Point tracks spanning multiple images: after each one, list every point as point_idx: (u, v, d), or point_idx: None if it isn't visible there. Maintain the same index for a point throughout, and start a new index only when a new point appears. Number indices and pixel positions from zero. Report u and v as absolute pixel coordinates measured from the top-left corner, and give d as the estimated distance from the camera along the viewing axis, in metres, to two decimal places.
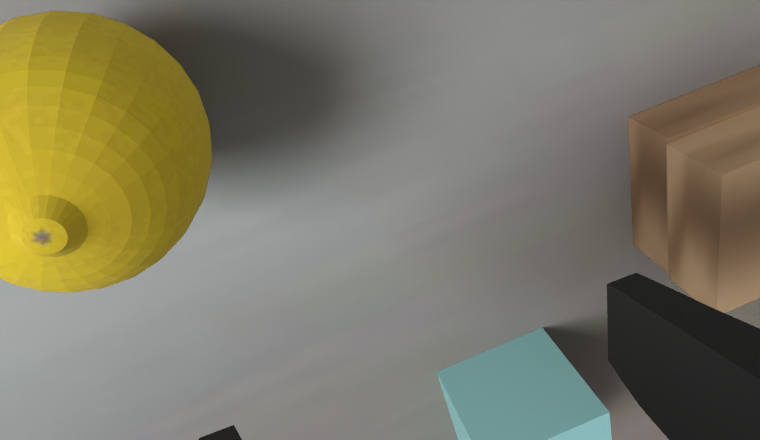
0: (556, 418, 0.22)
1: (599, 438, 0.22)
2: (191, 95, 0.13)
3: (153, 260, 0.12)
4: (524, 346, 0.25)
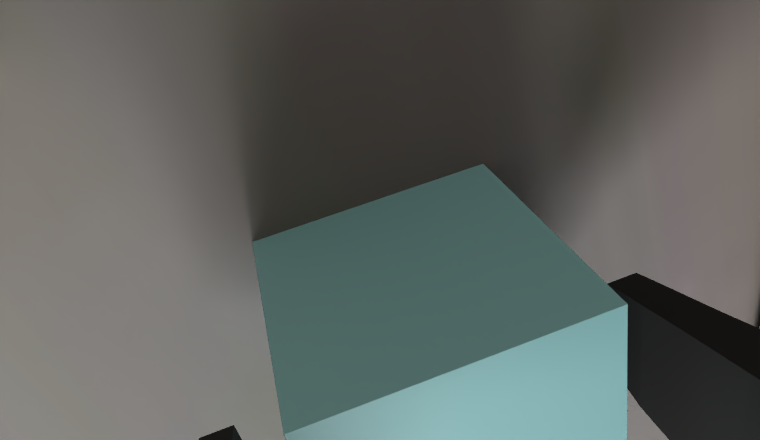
0: None
1: (384, 423, 0.08)
2: None
3: None
4: None
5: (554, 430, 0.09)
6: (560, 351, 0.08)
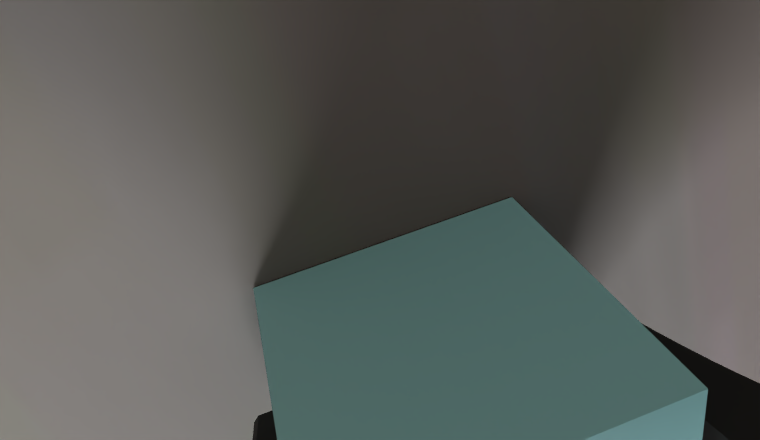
0: None
1: None
2: None
3: None
4: None
5: None
6: None
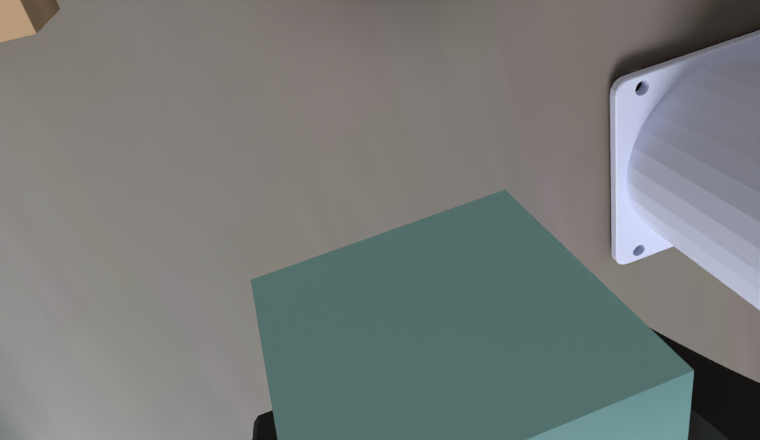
0: None
1: None
2: None
3: None
4: None
5: None
6: (615, 424, 0.07)
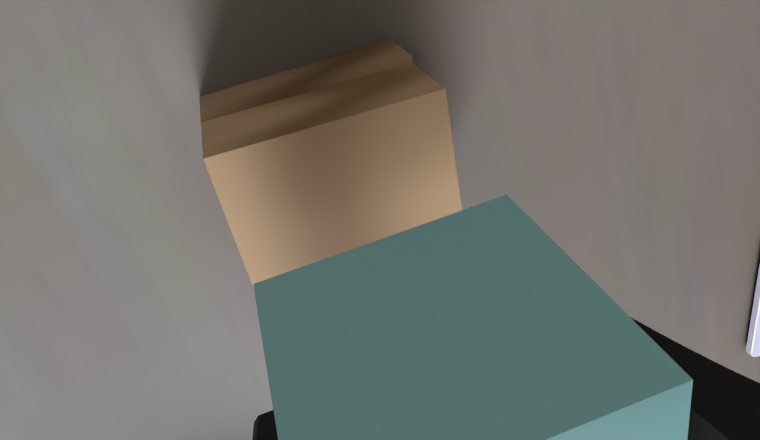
0: None
1: None
2: None
3: None
4: None
5: None
6: (614, 433, 0.07)
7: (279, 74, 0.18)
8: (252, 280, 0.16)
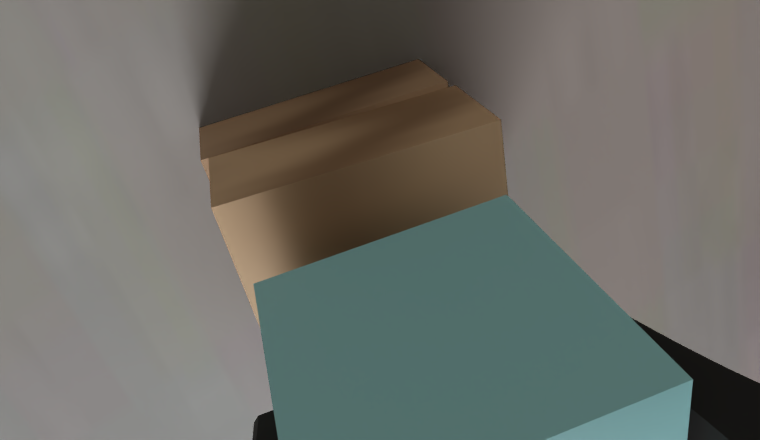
0: None
1: None
2: None
3: None
4: None
5: None
6: (614, 433, 0.07)
7: (291, 101, 0.15)
8: None
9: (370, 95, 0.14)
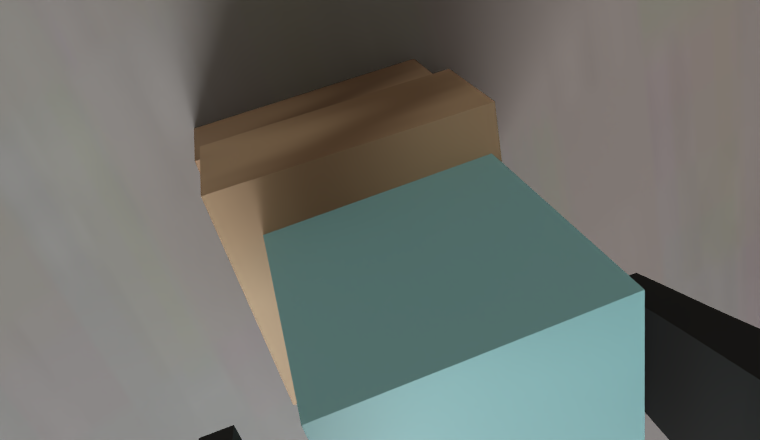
0: None
1: (401, 413, 0.08)
2: None
3: None
4: None
5: (572, 419, 0.09)
6: (578, 337, 0.08)
7: (286, 102, 0.15)
8: (264, 334, 0.13)
9: None
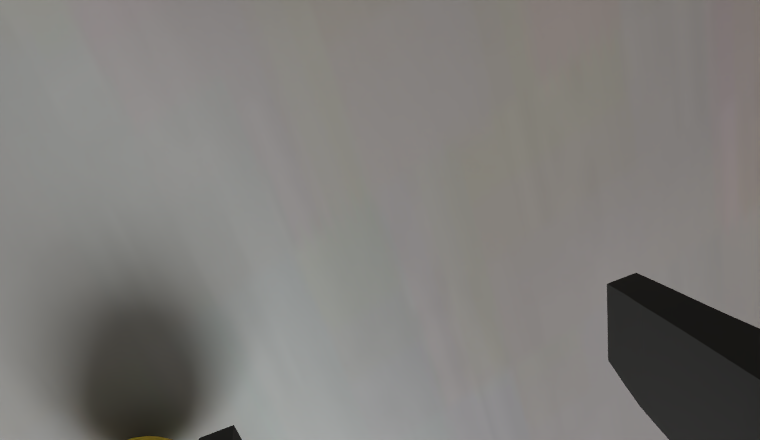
0: None
1: None
2: None
3: None
4: None
5: None
6: None
7: None
8: None
9: None
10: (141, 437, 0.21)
